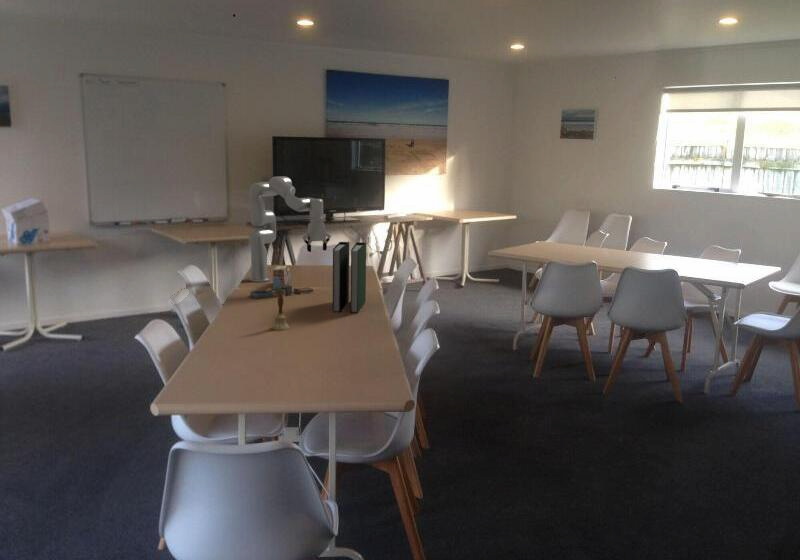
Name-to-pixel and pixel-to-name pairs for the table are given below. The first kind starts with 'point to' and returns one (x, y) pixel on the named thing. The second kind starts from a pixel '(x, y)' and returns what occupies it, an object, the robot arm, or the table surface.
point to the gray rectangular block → (287, 288)
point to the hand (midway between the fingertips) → (317, 250)
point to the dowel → (275, 283)
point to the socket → (277, 292)
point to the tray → (260, 294)
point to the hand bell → (280, 317)
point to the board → (303, 290)
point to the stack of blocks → (282, 274)
